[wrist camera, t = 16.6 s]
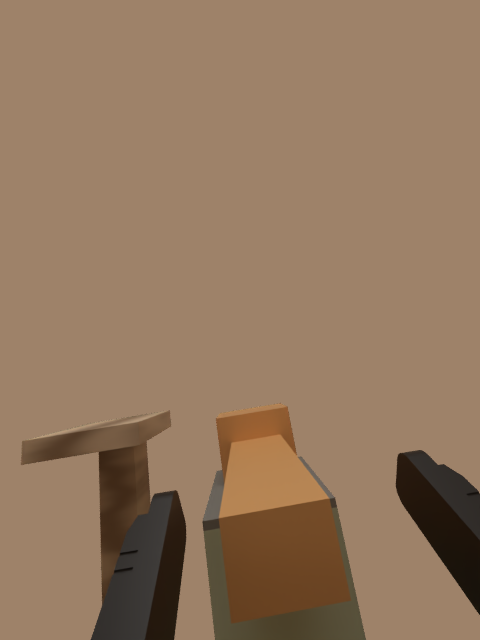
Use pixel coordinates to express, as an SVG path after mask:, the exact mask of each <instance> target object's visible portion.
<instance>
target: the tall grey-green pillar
mask: <svg viewBox="0 0 480 640" xmlns="http://www.w3.org/2000/svg"><path fill="white" fill-rule="evenodd" d="M298 458H299V459H300V461H301V462H302V463H303V465H304V466H305V467H306V468H307V470H308V471H309V472H310V474H311V475H312V476H313V478H314V479H315V480H316V481H317V483H318V484H319V485H320V487H321V488H322V489H323V491H324V492H325V493H326V494H327V496H328V497H329V499H330V503H331V508H332V513H333V517H334V522H335V527H336V531H337V536H338V541H339V546H340V550H341V555H342V560H343V564H344V569H345V574H346V578H347V583H348V588H349V592H350V597H351V601H346V602H341V603H336V604H331V605H326V606H320V607H315V608H310V609H305V610H300V611H295V612H289V613H284V614H279V615H274V616H269V617H264V618H258V619H253V620H248V621H243V622H238V623H232V624H231V617H230V608H229V600H228V592H227V583H226V575H225V566H224V558H223V550H222V541H221V533H220V525H219V514H220V508H221V502H222V496H223V490H224V478H223V470H221V471H217V473H216V477H215V480H214V483H213V487H212V490H211V494H210V497H209V501H208V504H207V508H206V511H205V515H204V518H203V530H204V539H205V549H206V558H207V568H208V577H209V586H210V596H211V605H212V615H213V624H214V633H215V640H366V638H365V634H364V629H363V625H362V620H361V615H360V611H359V606H358V602H357V597H356V592H355V588H354V583H353V578H352V574H351V569H350V565H349V560H348V556H347V551H346V547H345V542H344V537H343V533H342V528H341V523H340V519H339V514H338V509H337V505H336V501H335V497H334V496H333V495H332V493H331V492H330V491H329V490H328V489H327V487H326V486H325V485H324V484H323V482H322V481H321V480H320V479H319V478H318V476H317V475H316V474H315V473H314V471H313V470H312V469H311V468H310V467H309V465H308V464H307V463H306V462H305V460H304V459H303V458H302V457H298Z"/></svg>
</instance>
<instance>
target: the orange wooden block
mask: <svg viewBox="0 0 480 640" xmlns="http://www.w3.org/2000/svg"><path fill="white" fill-rule="evenodd" d="M216 423H217V430H218V439H219V446H220V455H221V463H222V470H223V478H224V490H223V496H222V502H221V508H220V514H219V525H220V533H221V541H222V550H223V558H224V566H225V575H226V583H227V592H228V600H229V608H230V617H231V624H232V623H238V622H243V621H248V620H253V619H258V618H264V617H269V616H274V615H279V614H284V613H289V612H295V611H300V610H305V609H310V608H315V607H320V606H326V605H331V604H336V603H341V602H346V601H351V597H350V592H349V588H348V583H347V578H346V574H345V569H344V564H343V560H342V555H341V550H340V546H339V541H338V536H337V531H336V527H335V522H334V517H333V513H332V508H331V503H330V499H329V497H328V496H327V494H326V493H325V492H324V491H323V489H322V488H321V487H320V485H319V484H318V483H317V481H316V480H315V479H314V478H313V476H312V475H311V474H310V472H309V471H308V470H307V468H306V467H305V466H304V465H303V463H302V462H301V461H300V459H299V458H298V457H297V454H296V448H295V443H294V438H293V433H292V428H291V423H290V417H289V412H288V407H287V406H285V405H283V404H281V403H279V404H273V405H267V406H261V407H255V408H250V409H243V410H237V411H231V412H225V413H220V414H219V415H218V417H217V418H216Z"/></svg>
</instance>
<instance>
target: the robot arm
mask: <svg viewBox="0 0 480 640" xmlns="http://www.w3.org/2000/svg"><path fill="white" fill-rule="evenodd" d="M396 489H397V493H398V496H399V498H400V500H401V502H402V504H403V505H404V507H405V509H406V510H407V511H408V513H409V514H410V516H411V517H412V519H413V520H414V521H415V523H416V524H417V525H418V527H419V529H420V530H421V531H422V533H423V534H424V536H425V537H426V538H427V540H428V542H429V543H430V544H431V546H432V547H433V549H434V550H435V552H436V553H437V554H438V556H439V557H440V559H441V560H442V562H443V563H444V565H445V566H446V567H447V569H448V570H449V572H450V573H451V574H452V576H453V577H454V579H455V580H456V582H457V583H458V585H459V586H460V587H461V589H462V590H463V592H464V593H465V595H466V596H467V598H468V599H469V600H470V602H471V603H472V605H473V606H474V608H475V609H476V610H477V612H478V613H479V615H480V494H479V492H478V490H477V489H476V488H475V487H474V486H472V485H471V484H470V483H469V482H468V481H467V480H466V479H465V478H464V477H463V476H462V475H460V474H458V473H457V472H455V471H454V470H452V469H450V468H449V467H447V466H446V465H444V464H443V465H437V464H436V463H435V462H434V461H433V460H432V458H430V456H429V455H427V454H426V453H425V452H424V451H422V450H418V451H412V452H405V453H400V454H399V455H398V458H397V475H396ZM185 545H186V523H185V518H184V515H183V511H182V507H181V503H180V499H179V495H178V493H177V491H176V490H175V491H170V492H163V493H157V494H154V496H153V498H152V501H151V505H150V508H149V512H148V514H142V515H138V516H137V518H136V519H135V521H134V522H133V524H132V525H131V527H130V528H129V530H128V531H127V533H126V536H125V539H124V542H123V545H122V548H121V551H120V556H119V557H118V560H117V563H116V566H115V569H114V574H113V575H112V578H111V581H110V584H109V587H108V590H107V593H106V596H105V599H104V602H103V605H102V608H101V611H100V614H99V617H98V620H97V623H96V626H95V629H94V632H93V635H92V638H91V640H174V635H175V627H176V619H177V610H178V602H179V594H180V586H181V578H182V570H183V562H184V553H185Z"/></svg>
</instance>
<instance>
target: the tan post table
mask: <svg viewBox="0 0 480 640" xmlns="http://www.w3.org/2000/svg"><path fill="white" fill-rule="evenodd" d="M170 426H171V420H170V411H163V412H157V413H151V414H145V415H139V416H132V417H127V418H121V419H115V420H108V421H102V422H96V423H90V424H86V425H82V426H78V427H75V428H70V429H67V430H63V431H59V432H56V433H51V434H47V435H44V436H40V437H36V438H32V439H28V440H25V441H22V457H21V465H24V464H30V463H36V462H41V461H47V460H53V459H59V458H65V457H71V456H77V455H83V454H89V453H94V452H99V484H100V525H101V526H100V527H101V570H102V605H103V602H104V599H105V596H106V593H107V590H108V587H109V584H110V581H111V578H112V575H113V574H114V569H115V566H116V563H117V560H118V557H119V556H120V551H121V548H122V545H123V542H124V539H125V536H126V533H127V531H128V530H129V528H130V527H131V525H132V524H133V522H134V521H135V519H136V518H137V516H138V515H142V514H148V512H149V508H150V505H151V504H150V490H149V475H148V474H149V473H148V458H147V444H146V443H147V442H146V441H147V440H149V439H151V438H152V437H154V436H156V435H157V434H159V433H161V432H162V431H164V430H165V429H167V428H169V427H170Z"/></svg>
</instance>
